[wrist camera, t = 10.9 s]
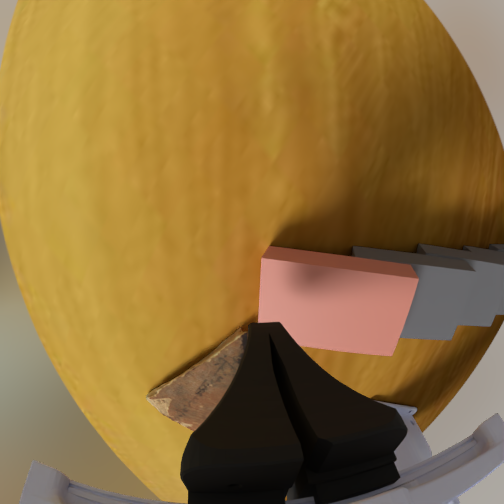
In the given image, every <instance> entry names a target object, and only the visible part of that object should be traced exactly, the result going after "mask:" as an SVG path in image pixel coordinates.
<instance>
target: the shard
mask: <svg viewBox="0 0 504 504" xmlns="http://www.w3.org/2000/svg"><path fill="white" fill-rule="evenodd" d="M247 339H248V332H247V331H245V332H243V331H242V329H241V327H240V328H239V329H238V330H237V331H236V332H235V333H234V334H232V335H231V336H230V337H228V338H227V339H225V340H224V341H223V342H222V343H221V344H220V345H219V346H218V347H217V348H216V349H215V350H213V351H212V352H211V353H210V354H209V355H207V356H206V357H205V358H203V359H202V360H201V361H200V362H198V363H196V364H195V365H193V366H192V367H191V368H189V369H188V370H187V371H185V372H184V373H182V374H181V375H179V376H177V377H176V378H174V379H173V380H171V381H169V382H167V383H164V384H162V385H161V386H159V387H158V388H155V389H153V390H152V391H151V392H150V393H148V394H147V396H146V399H147V400H148V401H149V402H150V403H151V404H152V405H153V406H154V407H155V408H156V409H158V410H159V412H161V413H162V414H163V415H165V416H167V417H168V418H170V419H171V420H173V421H176V422H178V423H179V424H181V425H183V426H185V427H187V428H189V429H191V430H192V431H195V430H196V429H197V428H198V427H199V426H200V425H201V424H202V423H203V422H204V421H205V420H206V418H207V417H208V416H209V415H210V414H211V412H212V411H213V410H214V408H215V407H216V406H217V404H218V403H219V402H220V400H221V399H222V397H223V396H224V394H225V392H226V391H227V389H228V387H229V386H230V384H231V382H232V380H233V378H234V376H235V374H236V372H237V370H238V367H239V365H240V362H241V360H242V357H243V354H244V351H245V347H246V344H247Z"/></svg>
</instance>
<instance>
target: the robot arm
mask: <svg viewBox="0 0 504 504" xmlns="http://www.w3.org/2000/svg"><path fill="white" fill-rule="evenodd" d="M416 412H417V408H416V407H410V406H404V405H398V404H392V403H386V402H381V401H376V400H372V399H370V398H368V397H366V396H364V395H362V394H360V393H358V392H356V391H354V390H352V389H351V388H349V387H347V386H346V385H344V384H343V383H341V382H339V381H338V380H336V379H335V378H334V377H332V376H331V375H330V374H328V373H327V372H326V371H325V370H323V369H322V368H321V367H320V366H319V365H318V364H317V363H316V362H315V361H313V360H312V359H311V358H310V357H309V356H308V355H307V354H306V353H305V351H304V350H303V349H302V348H301V347H300V346H299V345H298V344H297V343H296V341H295V340H294V339H293V338H292V337H291V335H290V334H289V333H288V332H287V330H286V329H285V328H284V326H283V325H282V324H281V323H280V322H263V323H250V324H249V325H248V339H247V344H246V347H245V351H244V354H243V357H242V360H241V362H240V365H239V367H238V370H237V372H236V374H235V376H234V378H233V380H232V382H231V384H230V386H229V387H228V389H227V391H226V392H225V394H224V396H223V397H222V399H221V400H220V402H219V403H218V404H217V406H216V407H215V408H214V410H213V411H212V412H211V414H210V415H209V416H208V417H207V418H206V420H205V421H204V422H203V423H202V424H201V425H200V426H199V427H198V428H197V429H196V430H195V431H194V432H193V433H192V434H191V436H190V438H189V441H188V443H187V445H186V448H185V450H184V453H183V457H182V461H181V472H180V476H181V480H182V481H183V483H184V485H185V486H186V488H187V490H188V504H460V502H459V499H458V497H459V496H460V495H462V494H463V493H465V492H466V491H468V490H469V489H470V488H472V487H473V486H475V485H476V484H477V483H479V482H480V481H481V480H483V479H484V478H485V477H487V476H488V475H489V474H490V473H492V472H493V471H494V470H495V469H496V468H497V467H499V466H500V465H501V464H502V463H503V462H504V422H503V420H502V418H501V417H500V416H499V414H498V413H496V414H495V415H493V416H492V417H490V418H489V419H487V420H486V421H484V422H483V423H482V424H481V425H480V426H479V427H478V428H477V429H476V430H475V431H474V432H473V434H472V435H471V436H469V437H467V438H466V439H464V440H462V441H461V442H459V443H457V444H455V445H453V446H452V447H450V448H448V449H446V450H445V451H442V452H441V453H439V454H437V455H435V456H433V457H432V452H431V449H430V446H429V445H428V443H427V441H426V439H425V438H424V436H423V434H422V432H421V430H420V428H419V426H418V425H417V423H416V421H415V419H414V418H413V416H412V415H413V414H414V413H416ZM286 495H287V501H285V497H286ZM19 504H185V503H174V502H165V501H157V500H150V499H144V498H138V497H133V496H128V495H123V494H119V493H115V492H110V491H106V490H103V489H99V488H95V487H92V486H89V485H85V484H82V483H79V482H76V481H73V480H70V479H69V478H68V477H67V476H66V475H65V474H64V473H62V472H61V471H59V470H57V469H55V468H53V467H50V466H48V465H45V464H43V463H41V462H38V461H36V460H33V462H32V464H31V467H30V470H29V473H28V476H27V479H26V482H25V485H24V488H23V491H22V495H21V498H20V502H19Z"/></svg>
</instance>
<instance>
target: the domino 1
mask: <svg viewBox="0 0 504 504" xmlns="http://www.w3.org/2000/svg"><path fill="white" fill-rule="evenodd" d="M351 257H358V258H366V259H373V260H380V261H388V262H395V263H402V264H409V265H411V266H412V268H413V270H414V271H415V273H416V275H417V276H418V278H419V281H418V284H417V288H416V291H415V294H414V297H413V300H412V304H411V307H410V310H409V313H408V316H407V318H406V321H405V324H404V327H403V329H402V332H401V335H400V337H399V338H413V339H432V340H451V339H452V337H453V334H454V332H455V330H456V328H457V325H458V323H459V320H460V318H461V315H462V313H463V310H464V307H465V305H466V302H467V299H468V296H469V293H470V290H471V287H472V284H473V281H474V278H475V275H476V271H475V270H474V269H473V268H472V267H471V266H470V265H469V264H468V262H467V261H466V260H460V259H452V258H445V257H438V256H430V255H423V254H415V253H408V252H400V251H392V250H384V249H376V248H367V247H359V246H353V249H352V256H351Z"/></svg>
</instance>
